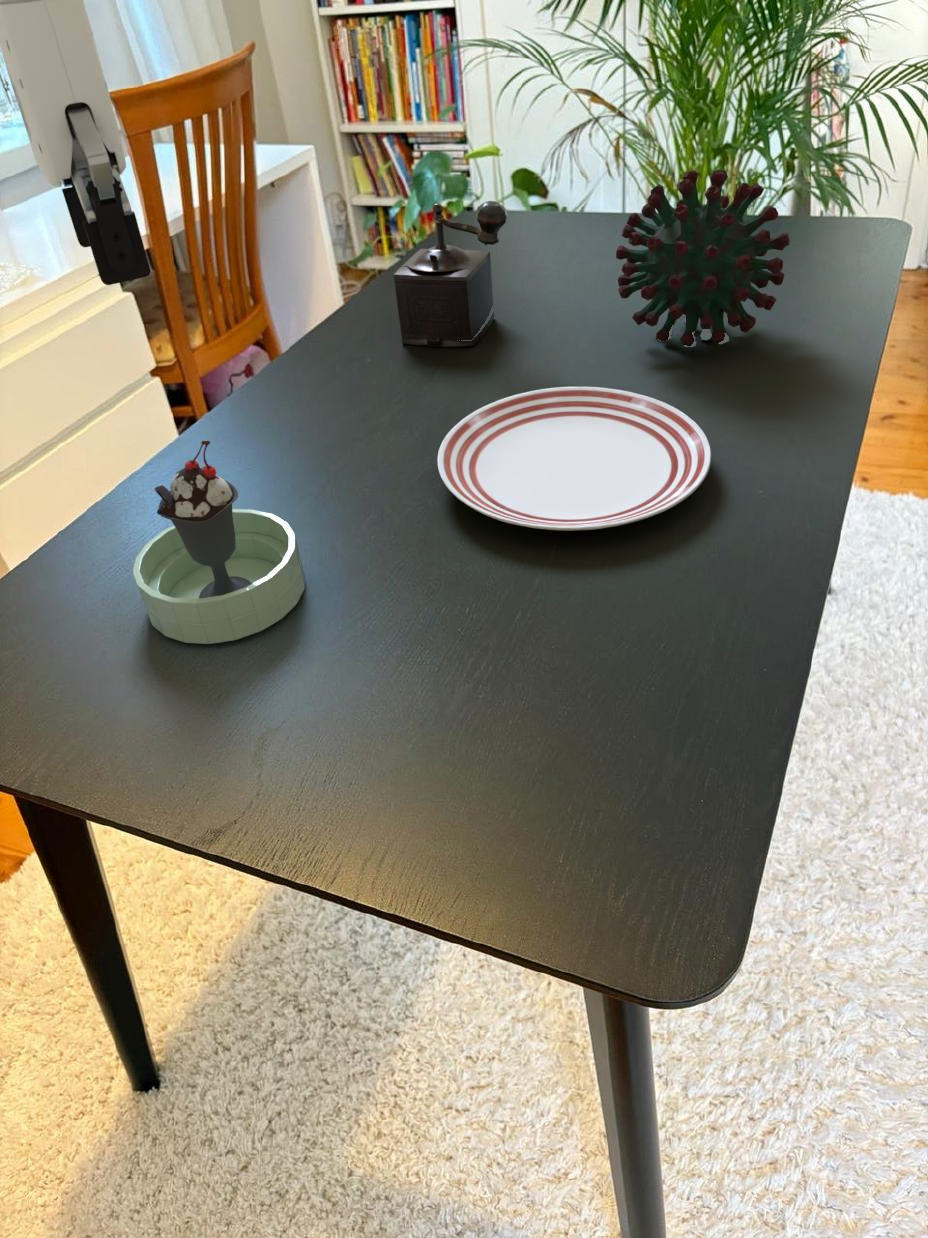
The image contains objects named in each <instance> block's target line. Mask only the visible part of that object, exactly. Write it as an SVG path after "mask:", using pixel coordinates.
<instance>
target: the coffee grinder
mask: <svg viewBox="0 0 928 1238" xmlns="http://www.w3.org/2000/svg"><path fill="white" fill-rule="evenodd" d="M432 211H433V213H434V214H433V216H432V222H433V223H435V231H436V244H435V245H434V246H431V247H430V248H420V249H418V250H417V251H416V252H415V253H414V254H413V255H412V256H411V257H410V258H408V259H407V260H406V261H405V263H403V264H402V265H401V266H400V267H399V268H398V269H397V270H396V271H395V272H394V273H393V282H394V288H395V289H394V290H395V296H396V297H395V298H396V305H397V313H398V320H399V327H400V334H401V344H402V345H408V346H409V345H410V346H424V347H433V348H434V347H435V348H442V347H449V348H450V347H451V348H455V347H457V348H460V347H462V348H463V347H473V346H475V345H476V344H477V343H479V342H480V341H481V340H482V339H483V337H484V336H485V334H486V333H487V332H488V330H489V329H490V328H491V326H492V324H493V321H494V319H495V311H494V312H493V314H492V316H491V318H490V320H489V321H488V323H487V324H486V325H485V327H484V328H483V329H482V331H481V332H480V333H479V334H478V335H477V336H476V337H475V338H474V336H475V335H476V334H477V333H478V331H479V330H480V328H481V326H482V325H483V324H484V323H485V321H486V319H487V317H488V316H489V313H490V311H491V308H492V306H493V307H494V298H493V279H492V261H491V259H492V258H491V251H490V250H477V249H476V250H475V249H462V248H461V247H458V246H455V245H451V244H446V241H445V237H444V235H445V234H444V226H445V227H447V228H449V229H452V230H457V231H460V232H465V233H466V232H467V233H469V234H473V235H476V239H477V241H478V242H480V243H482V244H484V245H485V247H486V246H488V245H491V246H493V245H496V244H498V243H499V242H500V237H499V231H500V229H501V228H502V227H504V226H505V224H506V222H507V216H508V212H507V210H506V207H505V206H504V205H502V204H500V203H499V202H497V201H494V200H487V201H484V202H483V203H481V204H479V206H478V207H477V208H476V210H475V219H476V220H477V223H478V224H479V227H477V226H474V225H470V224H468V223H467V224H466V223H462V222H459V221H453V220H450V219H448V218H445V215H444V214H443V212H444V207H443V205H442V204H440V203H439V202H438V203H435V204H434V205H433V206H432ZM473 338H474V339H473ZM472 339H473V340H472ZM457 340H458V341H457ZM459 340H460V341H459ZM461 340H472V341H461Z"/></svg>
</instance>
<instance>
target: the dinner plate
mask: <svg viewBox="0 0 928 1238" xmlns="http://www.w3.org/2000/svg"><path fill="white" fill-rule="evenodd" d="M711 462H712V450H711V445H710V442H709V440H708V438H707V436H706V434H705V432H704V431H703V430H702V428H701V427H700V426H699V425H698V424H697V423H696V422H695V421H694V420H693V419H692V417H691V418H690V416H688V415H687V414H685V413H684V412H683V411H681V410H679V409H678V408H676V407H674V406H672V405H671V404H668V403H666V402H665V401H662V400H659V399H657V398H653V397H651V396H647V395H643V394H639V393H636V392H632V391H628V390H622V389H616V388H609V387H608V388H607V387H601V386H600V387H599V386H559V387H558V386H557V387H549V388H540V389H535V390H531V391H526V392H522V393H517V394H514V395H511V396H507V397H504V398H501V399H497V400H496V401H494V402H491V403H488V404H487V405H484V406H482V407H480V408H478V409H476V410H474V411H473V412H471V413H469V414H468V415H467V416H465V417H464V418H462V419H461V420H460V421H458V422H457V423H456V424H455V425H454V426H453V427H452V428H451V429H450V430H449V431H448V432H447V434H446V435H445V437H444V438H443V440H442V442H441V444H440V446H439V449H438V453H437V469H438V472H439V476H440V477H441V480H442V482H443V484H444V485H445V487H446V488H447V489H448V491H449V492H450V493H452V495H454V497H456V499H458V500H459V501H460V502H462V503H464V504H465V505H466V506H468V507H469V508H471V509H473V510H474V511H476V512H479V513H481V514H482V515H483V516H487V517H489V518H491V519H494V520H497V521H500V522H504V523H507V524H510V525H511V524H512V525H516V526H520V527H526V528H530V529H539V530H547V531H571V532H572V531H573V532H574V531H590V530H600V529H608V528H613V527H620V526H624V525H628V524H633V523H636V522H639V521H643V520H645V519H648V518H652V517H653V516H656V515H659V514H661V513H663V512H665V511H667V510H669V509H671V508H674V507H675V506H676V505H678V504H680V503H682V502H684V500H686V499H687V498H688V497H689V496H691V495H693V493H695V491H696V490H697V489H698V488H699V487H700V486H701V485H702V483H703V482H704V481H705V479H706V477H707V475H708V473H709V471H710V469H711V468H710V467H711Z"/></svg>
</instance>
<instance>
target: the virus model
mask: <svg viewBox="0 0 928 1238" xmlns="http://www.w3.org/2000/svg"><path fill="white" fill-rule="evenodd" d="M698 177H699V172H698V171H697V170H696V169H692V170H688V171H684V173H683V175H682V179H683V180H681V181H680V182H679V183H678V184H677V187H676V188H677V191H678V192H679V193H680V194H681V198H680V199H679V200H677V201H676V204H675V208H674V207H673V206H672V205H671V203H670V202H669V200H668V198H667V196H666V194H665V187H664V185H662V184H660V183H658V184H657V185H655V186H654V187H653V188H652V189H650V194H649V196H648V197H647V199H646V200H647V201H646V202H647V203H646V204H645V205H644V206H642V208H641V215H642V216H643V218H647V219H649V220H652V222H654V224H655V225H654V224H652V223H648V222H647V221H645V220H644V219H642V218H641V216H640V215H639V214H638V213H637V212H634V213H633V212H632V213H630V215H629V217H628V219H627V221H626V224H625V225H624V226H623V228H622V231H621V237H623V238H624V239H628V242H627V243H628V244H629V245H631V246H633V247H637V246H643V247H645V249H641V250H639V249H629V248H627V247H626V246H624V245H619V246H617V249H616V250H615V251H616V252H615V259H617V260H620V261H622V260H625V259H626V262H624V263H623V264H622V267H621V272H622V274H621V275H619V276H618V277H617V284H618V293H619V296H620V298H621V299H628V298H629V297H630V296H631V295H632V294H633V293H636V292H637V291H639V290H640V297H641V298H642V299H644V300H646V301H649V303H647V304H646V305H645V306H644V307H643V308H641V310H638V311H636V312H634V313H633V315H632V316H631V319H632V320H633V321H634V322H635V324H637V326H640V325H642V324H644V323H645V324H646V325H648V326H650V327H654V326H657V325H658V322H659V320H660V317H661V316H662V315H663V314H664V313H665V312H666V311H667V310H668V312H667V316H666V320H665V322H664V324H663V326H662V327H661V329H659V330H658V331H657V332H656V333H655V339H656V340H657V339H659V340H661V341H666V340H668V337H669V331H670V329H671V327H672V325H674V324H675V325H676V322H677V320H678V319H680V318H681V317H682V316H685V317H686V325H685V328H684V329H685V330H684V332H683V334H682V336H681V337H680V339H679V341H680V343H681V344H682V346H683V345H687V346H691V345H692V344H693V342H694V338H693V335H692V332H694V331H695V330H696V331H697V329H698V324H699V325H700V328H701V329H709V328H710V329H711V331H712V338H711V341H712V342H714V343H716V344H717V343H719V342H721V341H723V340H724V337H725V334H724V333H726V332H727V331H726V329H725V322H724V318H725V314H726V319H727V318H728V323H729V324H728V325H729V326H730V327H732V328H735V327H739V331H741V332H743V333H748V332H749V331H750V330H751V329H752V328H754V327H755V325H756V323H757V318H756V317H755V316H753V315H751V314H749V313H748V312H747V311H746V309H745V308H744V306H743V303H742V302H746V301H747V300H751V301H752V302H753V303H754V305H755V307H756V308H758V309H761V308H762V309H764V310H767V311H771V310H772V308H773V307H774V306H775V303H776V302H777V299H776V297H775V296H774V295H768V294H767V293H763V292H760V291H759V290H758V289H760V290H761V289H763V288H766V287H767V286H768V284H769V281H770V282H771V283H772V284H774V285H775V286H782V284H783V283H784V278H785V274H784V272H782V270H783V267H784V260H783V259H782V258H780V257H778V256H777V257H774V258H772V259H769V260H768V259H767V260H766V259H762V258H760V257H764V256H765V255H766V254H768V251H770V250H775V251H782V252H783V251H784V249H785V248H786V247H788V246H790V237H789V233H788V232H782V233H780V234H779V235H778V236H776V237H772V238H771V231H770V230H767V229H764V228H762V229H761V230H760V231H759V232H758V233H757V234H755V235H752V234H753V233H754V232H756V231H757V230H758V229H759V228H760V227H762V226H763V225H764V224H765V223H766V222H771V221H775V220H777V218H778V217H779V211H778V210H777V207H774V206H773V205H772V204H771V205H770V204H768V205H767V206H764V208H763V209H762V211H761V212H760V213H759V215H757V216H755V217H753V218H752V219H751V220H747V221H745V220H744V215H745V213H746V211H747V209H748V208H749V207H750V206H751V204H752V203H753V201H754V200H756V199H758V198H759V197H760V196H762V195H763V194H764V193H763V192H764V191H765V188H764V187H763V186H761V185H760V184H759V183H758V182H755V183H753V184H751V185H749V183H748V182H747V183H746V182H741V183H740V184H738V186H737V188H736V191H735V193H734V197H733V201H732V202H731V203H730V197H729V196H728V195H722V190H723V186H724V185H725V183H726V182H727V179H728V178H729V174H728V172H727V170H724V169H716V170H714V171H712V172H711V174H710V175H709V180H710V186H708V188H706V190H705V193H704V197H705V199H706V203H705V204H703V203H700V200H699V195H698V189H697V188H698V187H697V181H698ZM635 228H636V229H639V230H640V231H642V232H644V233H642V232H640V231H637V230H636V229H635ZM756 257H759V258H756ZM767 270H768V271H767ZM752 284H753V285H755V286H756V287H757V288H758V289H756V288H755V287H754V286H753V285H752ZM699 321H700V322H699ZM675 325H674V326H675ZM659 340H658V341H659ZM661 341H660V342H661ZM668 341H669V340H668ZM666 342H667V341H666Z"/></svg>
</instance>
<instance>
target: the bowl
mask: <svg viewBox="0 0 928 1238" xmlns="http://www.w3.org/2000/svg"><path fill="white" fill-rule="evenodd" d="M232 516H233V523H234V530H235V543H236V548H235V550H234V552H233V554H232V555H231V557H230V558H229V559H228V560H227V561H226V562H225V567H226V571H227V573H228V575H229V577H230V576H237V577H241V578H245V579H247V580H249V581H250V582H251V583H252V584H251V585H249V586H247V587H246V588H243V589H240V590H237V591H234V592H231V593H228V594H225V595H221V596H214V597H208V598H201V599H199V595H200V593H201V591H202V590H203V589H204V588H205V587H206V586H207V585H208V584H209V583H211V582H213V581H214V575H213V572H212V568H211V567H210V566H205V565H202V564H200V563H198V562H196V561H194V560H193V559H192V557H191V556H190V554H189V553H188V551H187V549H186V548H185V545H184V543H183V541H182V539H181V537H180V535H179V533H178V531H177V529H176V527H175V526H174V524H173V525H171V526H169V527H167V528H165V529H163V530H162V531H160V532H159V533H158V534H157V535H155V536H154V537H152V538H151V539H150V540H149V541H148V542H146V543H145V545H144V546H143V548H142V549H141V550H140V551H139V553H138V555H136V557H135V560H134V564H133V570H132V575H133V577H134V578H133V579H134V581H135V582H136V586H137V588H138V591H139V593H140V597H141V599H142V602H143V604H144V608H145V610H146V613H147V616H148V618H149V620H150V623H151V625H152V627H153V628H154V629H156V630H157V631H158V632H160V633H161V634H162V635H163V636H164V637H166V638H170V639H173V640H176V641H178V642H182V643H186V644H201V645H212V644H220V643H226V642H233V641H237V640H240V639H242V638H245V637H246V638H247V637H248V636H251V635H254V634H257V633H260V632H262V631H265V630H266V629H267V628H269V627H270V626H272V625H274V624H275V623H278V622H279V621H281V620H282V619H283V618H284V617H285V616H286V615H288V613H290V612H291V611H292V609H294V608H295V607H296V605H298V603H299V600H300V598H301V596H302V595H303V592H304V591H305V588H306V587H305V571H304V567H303V563H302V562H303V561H302V558H301V554H300V550H299V545H298V541H297V537H296V534H295V532H294V531H293V529H292V527H291V526H290V525H289V523H288V521H285V520H283V519H282V518H280V517H279V516H277V515H275V514H273V513H270V512H266V511H261V510H257V509H248V508H247V509H246V508H232Z"/></svg>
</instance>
